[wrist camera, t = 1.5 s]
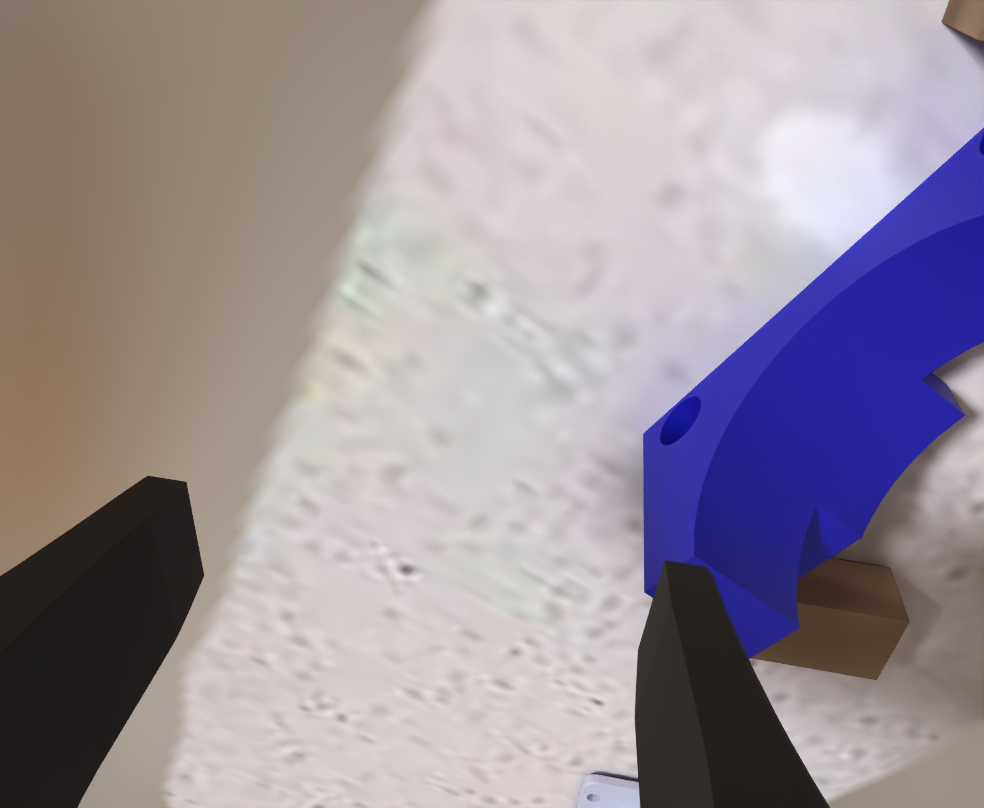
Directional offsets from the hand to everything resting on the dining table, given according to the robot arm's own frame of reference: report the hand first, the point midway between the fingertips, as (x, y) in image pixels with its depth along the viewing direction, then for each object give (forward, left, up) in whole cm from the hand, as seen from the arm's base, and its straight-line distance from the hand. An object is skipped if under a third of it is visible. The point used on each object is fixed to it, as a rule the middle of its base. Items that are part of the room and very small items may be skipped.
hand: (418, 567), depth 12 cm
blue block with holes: (0, -9, -10) cm, 14 cm away
